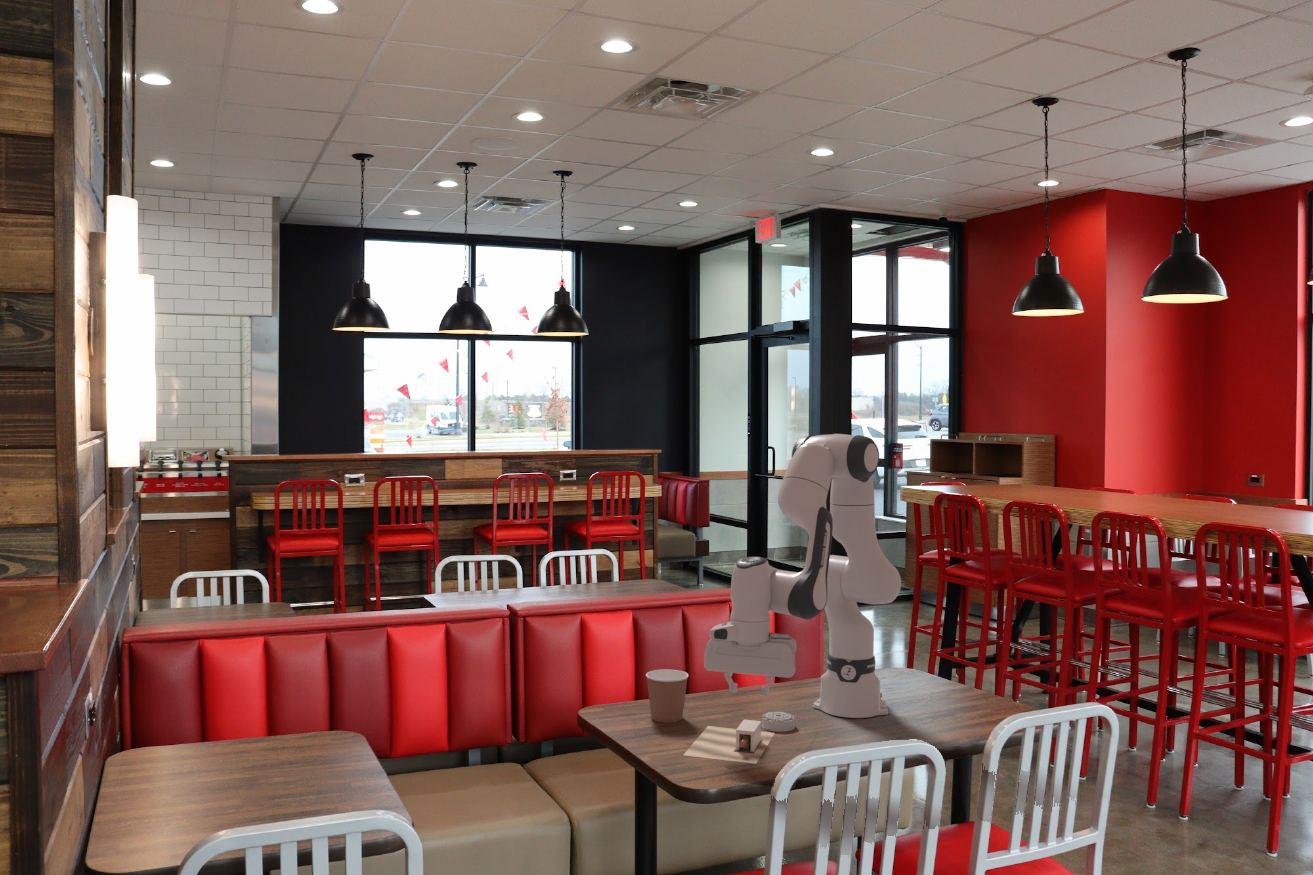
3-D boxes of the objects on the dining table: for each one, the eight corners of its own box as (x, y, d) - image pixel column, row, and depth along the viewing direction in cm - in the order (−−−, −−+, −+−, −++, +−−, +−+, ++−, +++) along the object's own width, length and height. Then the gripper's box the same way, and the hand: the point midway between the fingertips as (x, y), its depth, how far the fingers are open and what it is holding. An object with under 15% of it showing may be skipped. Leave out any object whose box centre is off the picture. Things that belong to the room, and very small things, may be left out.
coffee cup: (696, 725, 246) (697, 675, 246) (662, 733, 240) (663, 682, 239) (670, 715, 254) (671, 667, 254) (636, 722, 248) (637, 673, 248)
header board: (707, 732, 241) (708, 713, 241) (775, 739, 236) (775, 719, 236) (682, 762, 220) (683, 741, 220) (756, 770, 215) (756, 749, 215)
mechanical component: (755, 739, 237) (798, 742, 235) (755, 720, 237) (798, 723, 235) (758, 726, 247) (800, 729, 245) (758, 708, 247) (800, 710, 245)
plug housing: (743, 738, 231) (743, 719, 231) (760, 740, 230) (761, 721, 230) (732, 753, 221) (732, 733, 221) (750, 756, 220) (751, 735, 219)
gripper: (799, 632, 226) (798, 694, 227) (709, 625, 232) (708, 685, 232) (794, 637, 220) (793, 701, 221) (702, 630, 226) (701, 692, 226)
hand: (749, 693), depth 227 cm, fingers open, 6 cm apart
